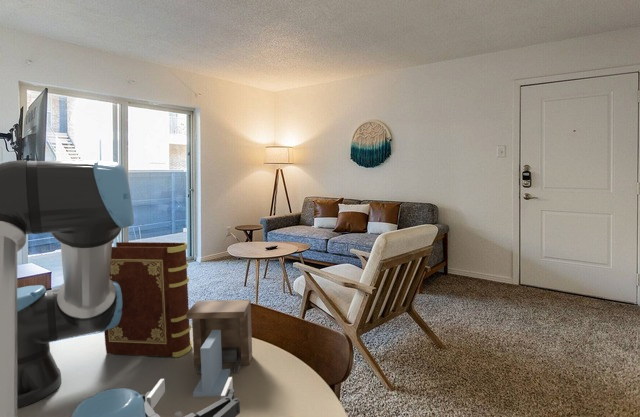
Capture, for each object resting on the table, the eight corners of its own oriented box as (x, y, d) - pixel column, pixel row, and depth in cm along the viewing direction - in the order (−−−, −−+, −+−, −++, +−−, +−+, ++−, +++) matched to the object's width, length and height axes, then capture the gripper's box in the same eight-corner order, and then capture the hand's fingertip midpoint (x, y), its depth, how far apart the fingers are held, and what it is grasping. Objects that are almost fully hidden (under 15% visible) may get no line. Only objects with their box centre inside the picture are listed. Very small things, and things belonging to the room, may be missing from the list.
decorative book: (195, 345, 109) (191, 242, 107) (182, 358, 101) (177, 247, 99) (123, 342, 112) (117, 241, 109) (105, 354, 104) (98, 246, 102)
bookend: (193, 396, 83) (191, 348, 83) (206, 373, 93) (204, 330, 92) (220, 396, 84) (218, 347, 83) (230, 372, 94) (228, 329, 93)
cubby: (189, 374, 93) (186, 312, 92) (200, 357, 102) (197, 300, 100) (246, 373, 93) (244, 311, 92) (252, 355, 102) (250, 299, 101)
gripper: (67, 490, 55) (135, 403, 76) (239, 485, 56) (259, 400, 77) (63, 441, 55) (133, 367, 76) (237, 436, 55) (258, 364, 76)
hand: (196, 384), depth 76 cm, fingers open, 13 cm apart
